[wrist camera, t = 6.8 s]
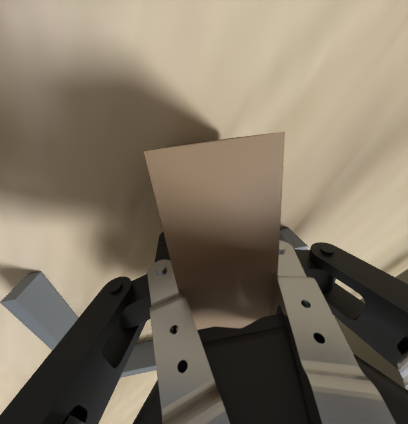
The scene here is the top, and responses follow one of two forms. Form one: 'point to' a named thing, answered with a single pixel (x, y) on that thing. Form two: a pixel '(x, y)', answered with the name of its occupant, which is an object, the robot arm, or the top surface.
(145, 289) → the robot arm
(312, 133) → the top surface
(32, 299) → the grey u-shaped bracket
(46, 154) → the top surface
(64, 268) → the top surface
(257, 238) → the block
